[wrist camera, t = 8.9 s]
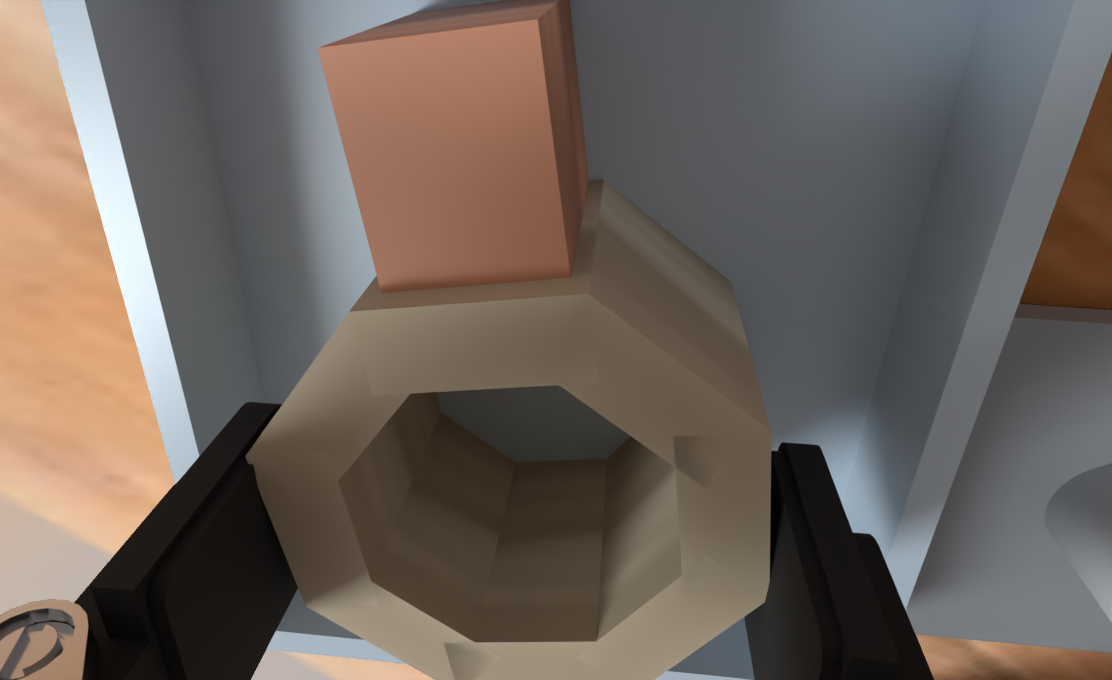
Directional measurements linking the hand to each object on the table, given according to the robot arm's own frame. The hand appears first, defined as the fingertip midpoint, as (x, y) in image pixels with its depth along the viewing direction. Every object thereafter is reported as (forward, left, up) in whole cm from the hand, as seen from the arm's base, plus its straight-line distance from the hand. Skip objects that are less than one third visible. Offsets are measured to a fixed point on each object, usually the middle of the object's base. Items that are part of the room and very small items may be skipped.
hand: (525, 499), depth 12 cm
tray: (-2, 0, -4) cm, 4 cm away
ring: (-2, 0, -3) cm, 4 cm away
